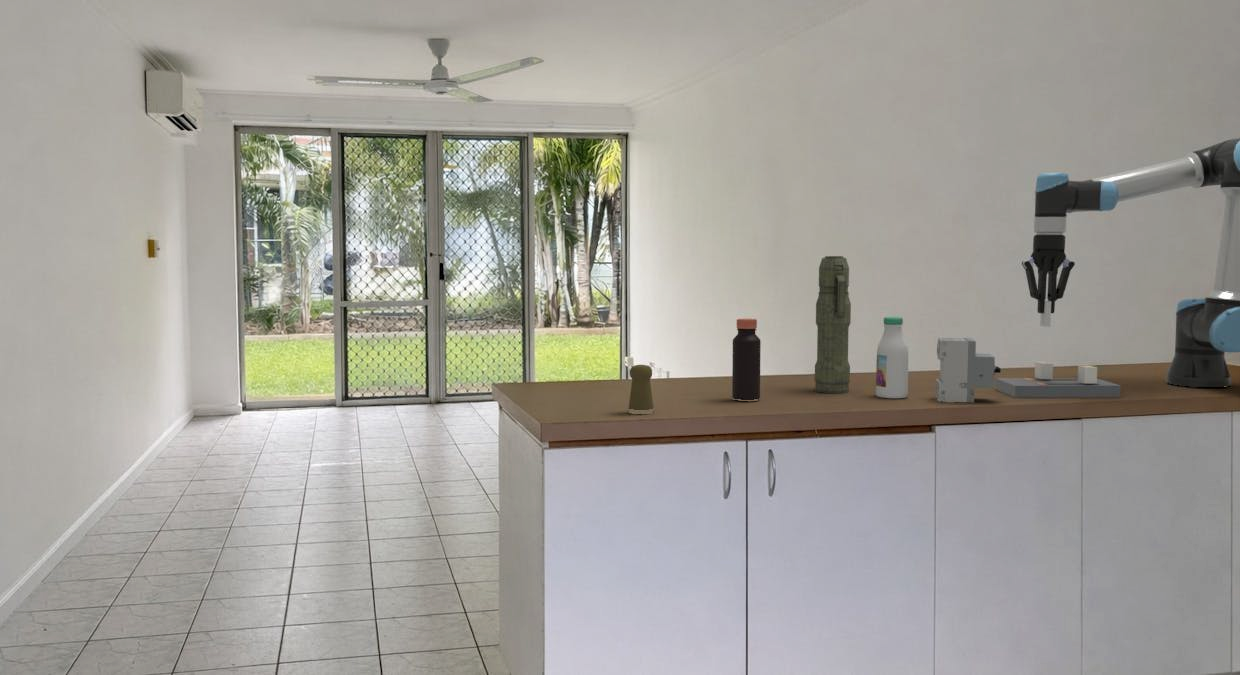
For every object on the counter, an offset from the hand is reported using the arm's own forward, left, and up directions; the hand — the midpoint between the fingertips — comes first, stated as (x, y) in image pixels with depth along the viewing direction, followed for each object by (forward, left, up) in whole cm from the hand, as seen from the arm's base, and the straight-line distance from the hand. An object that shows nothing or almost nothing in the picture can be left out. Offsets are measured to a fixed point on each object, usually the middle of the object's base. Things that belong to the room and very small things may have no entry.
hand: (1045, 326), depth 264 cm
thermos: (+54, -1, -17) cm, 57 cm away
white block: (-8, +8, -14) cm, 18 cm away
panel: (-2, +4, -17) cm, 17 cm away
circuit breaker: (+24, +15, -17) cm, 33 cm away
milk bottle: (+41, +9, -17) cm, 46 cm away
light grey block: (0, 0, -14) cm, 14 cm away
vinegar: (+78, +14, -17) cm, 81 cm away
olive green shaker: (+104, +32, -17) cm, 110 cm away
